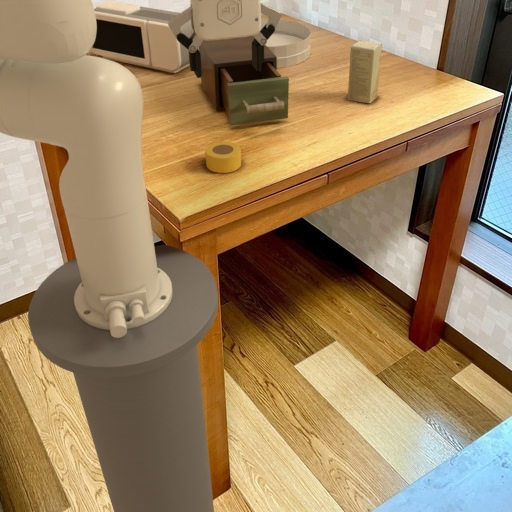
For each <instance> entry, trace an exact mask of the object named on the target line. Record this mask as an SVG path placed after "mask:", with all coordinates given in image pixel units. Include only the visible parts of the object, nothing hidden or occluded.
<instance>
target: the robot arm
mask: <svg viewBox="0 0 512 512" xmlns="http://www.w3.org/2000/svg"><path fill="white" fill-rule="evenodd" d="M189 2H190V3H189V4H190V5H189V7H188V8H186V9H184V10H183V11H182V12H179V13H180V14H179V15H177V16H176V17H174V18H173V19H171V20H170V21H168V26H169V27H170V29H171V31H172V32H173V34H174V35H175V37H176V38H177V40H178V42H180V43H181V44H182V45H183V46H184V47H185V48H187V49H188V50H189V62H190V65H189V69H190V70H189V71H190V72H193V73H194V75H195V77H196V78H197V79H201V77H202V70H201V55H200V52H199V50H198V47H199V46H200V44H201V43H202V42H203V40H207V41H209V40H221V39H231V38H241V37H249V36H253V37H254V40H253V42H252V65H253V67H254V68H255V69H256V70H257V71H261V64H263V63H264V45H265V44H266V43H267V40H268V39H269V38H270V36H271V35H272V34H273V33H274V32H275V28H276V26H277V24H278V22H279V20H281V17H282V14H281V12H280V11H278V10H277V9H274V8H273V7H271V6H268V5H267V4H264V3H262V2H261V0H190V1H189ZM94 9H95V8H94V5H93V1H92V0H0V133H1V134H2V135H3V134H4V135H6V136H9V137H13V138H17V139H22V140H27V141H32V142H37V143H41V144H43V143H44V144H48V145H51V146H56V147H60V148H64V149H65V150H66V151H67V152H68V159H67V162H66V164H65V165H64V167H63V169H62V171H61V174H60V178H59V183H58V186H59V187H58V188H59V195H60V199H61V203H62V207H63V209H64V214H65V218H66V223H67V226H68V230H69V234H70V238H71V243H72V247H73V250H74V254H75V258H76V259H77V263H78V267H79V271H80V275H81V279H82V282H81V283H80V285H79V286H78V288H77V290H76V292H75V296H74V304H75V308H76V311H77V313H78V315H79V317H80V318H81V319H82V320H83V321H84V322H86V323H88V324H89V325H91V326H94V327H97V328H100V329H105V330H110V333H111V335H112V336H113V337H116V338H120V337H123V336H125V334H126V333H127V329H131V328H135V327H138V326H141V325H144V324H146V323H148V322H150V321H152V320H154V319H155V318H157V317H158V316H159V315H161V314H162V313H163V312H164V311H165V310H166V308H167V307H168V305H169V304H170V302H171V299H172V292H173V290H172V283H171V281H170V278H169V277H168V275H167V274H166V273H165V272H164V271H162V270H161V269H159V268H157V262H156V255H155V248H154V246H155V242H154V234H153V229H152V222H151V221H152V220H151V214H150V207H149V199H148V193H147V187H146V179H145V173H144V163H143V145H142V144H143V140H142V139H143V119H144V96H143V95H144V94H143V90H142V87H141V84H140V82H139V81H138V79H137V77H136V76H135V74H133V73H132V71H130V70H129V69H128V68H127V67H125V65H124V66H123V65H122V64H121V63H119V62H117V61H115V60H111V59H106V58H103V57H99V56H95V55H87V54H88V53H89V52H90V51H91V50H90V49H91V47H92V46H93V44H94V42H95V39H96V32H97V23H96V16H95V11H94ZM262 15H263V16H267V17H268V18H267V19H268V22H267V24H266V25H265V26H264V27H263V28H262V29H261V19H262ZM189 20H191V25H192V29H193V32H192V33H191V35H190V36H189V38H188V37H187V36H186V35H184V34H183V33H182V31H181V29H180V27H181V26H182V25H183V24H185V23H186V22H188V21H189ZM260 30H261V31H260Z"/></svg>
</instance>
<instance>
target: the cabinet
mask: <svg viewBox="0 0 512 512" xmlns="http://www.w3.org/2000/svg"><path fill="white" fill-rule="evenodd" d="M253 40H254V37H253V36H249V37H241V38H231V39H221V40H209V41H207V40H203V42H202V43H201V44H200V46H199V52H200V55H201V70H202V77H201V78H200V82H201V87H202V89H203V90H204V93H205V94H206V95H207V97H208V99H209V102H210V103H211V104H212V106H213V108H214V109H215V111H216V112H222V111H223V112H224V111H226V110H225V108H224V106H223V105H222V103H221V101H220V96H219V77H218V67H227V66H236V65H245V64H252V42H253ZM264 62H270V63H271V65H272V66H273V67H274V68H275V69H276V70H277V71H278V68H277V57H276V56H275V55H274V53H273V52H272V51H271V50H270V49H269V48H268V47H267V46H266V45H264Z"/></svg>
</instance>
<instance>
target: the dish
mask: <svg viewBox="0 0 512 512" xmlns="http://www.w3.org/2000/svg"><path fill="white" fill-rule="evenodd" d="M268 19H269V18H261V29H262V28H263V27H264V26H265V25H266V24H267V22H268ZM260 31H261V30H260ZM311 33H312V32H311V30H310V28H309V27H308V26H306V25H305V24H302V23H299V22H296V21H292V20H287V19H280V20H279V22H278V24H277V26H276V28H275V32H274V33H273V34H272V35H271V36H270V38H269V39H268V40H267V43H266V44H265V45H266V46H267V47H268V48H269V49H270V50H271V51H272V52H273V53H274V55H275V56H276V57H277V69H282V68H288V67H292V66H296V65H298V64H301V63H304V62H305V61H306V60H307V59H309V58H310V56H311V51H312V50H311V49H312V47H311V46H312V44H311Z"/></svg>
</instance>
